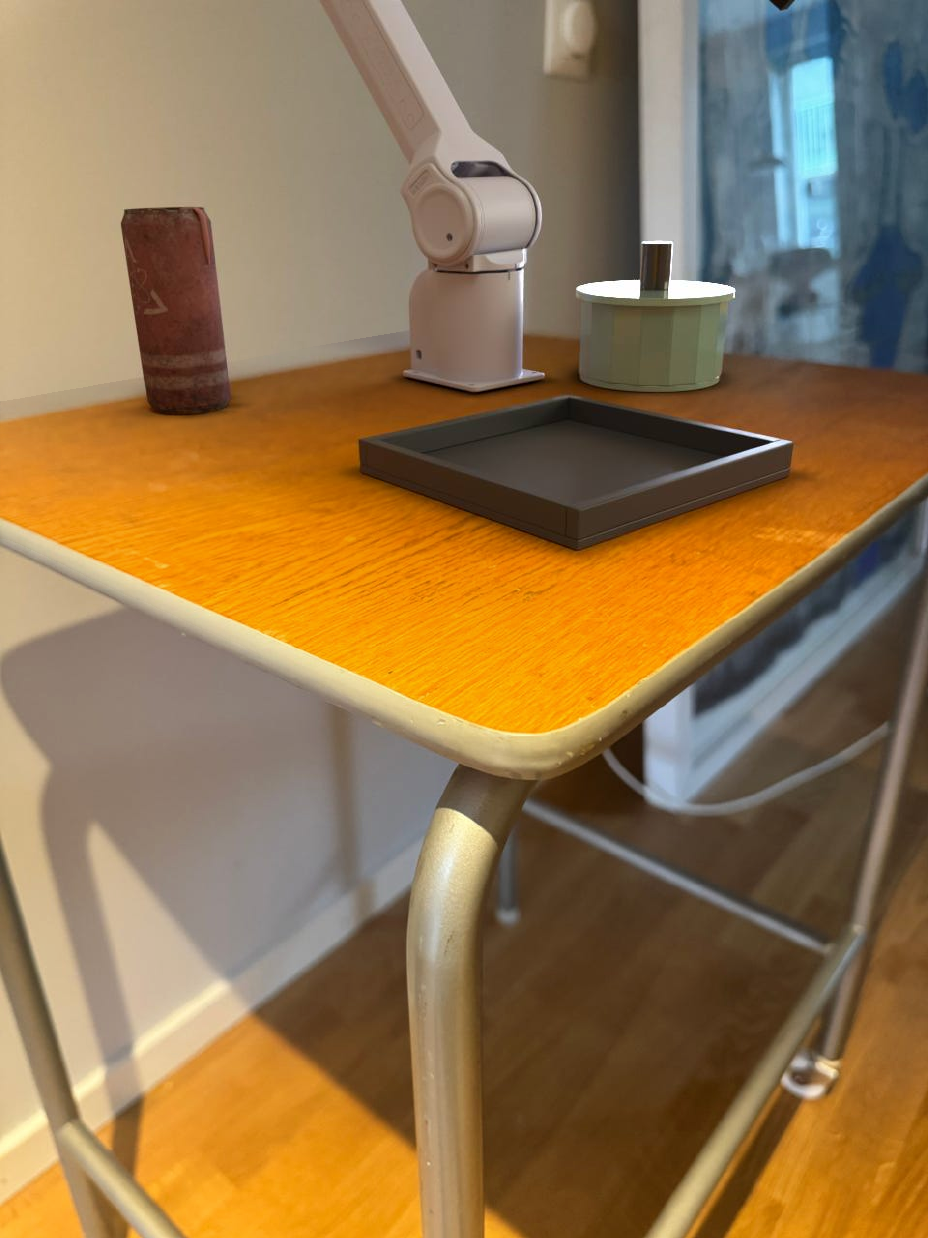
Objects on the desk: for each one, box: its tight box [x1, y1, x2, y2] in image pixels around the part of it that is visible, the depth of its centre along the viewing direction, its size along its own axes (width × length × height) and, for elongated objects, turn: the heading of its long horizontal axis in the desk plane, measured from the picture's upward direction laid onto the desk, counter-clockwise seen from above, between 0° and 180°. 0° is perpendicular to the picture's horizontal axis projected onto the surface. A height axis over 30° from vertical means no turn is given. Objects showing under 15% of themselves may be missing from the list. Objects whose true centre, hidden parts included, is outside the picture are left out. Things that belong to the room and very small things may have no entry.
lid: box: [575, 240, 736, 307], centre depth 78 cm, size 13×13×5 cm
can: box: [120, 206, 232, 416], centre depth 71 cm, size 6×6×14 cm
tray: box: [357, 393, 794, 551], centre depth 56 cm, size 18×18×2 cm
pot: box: [578, 300, 729, 393], centre depth 81 cm, size 12×12×6 cm
